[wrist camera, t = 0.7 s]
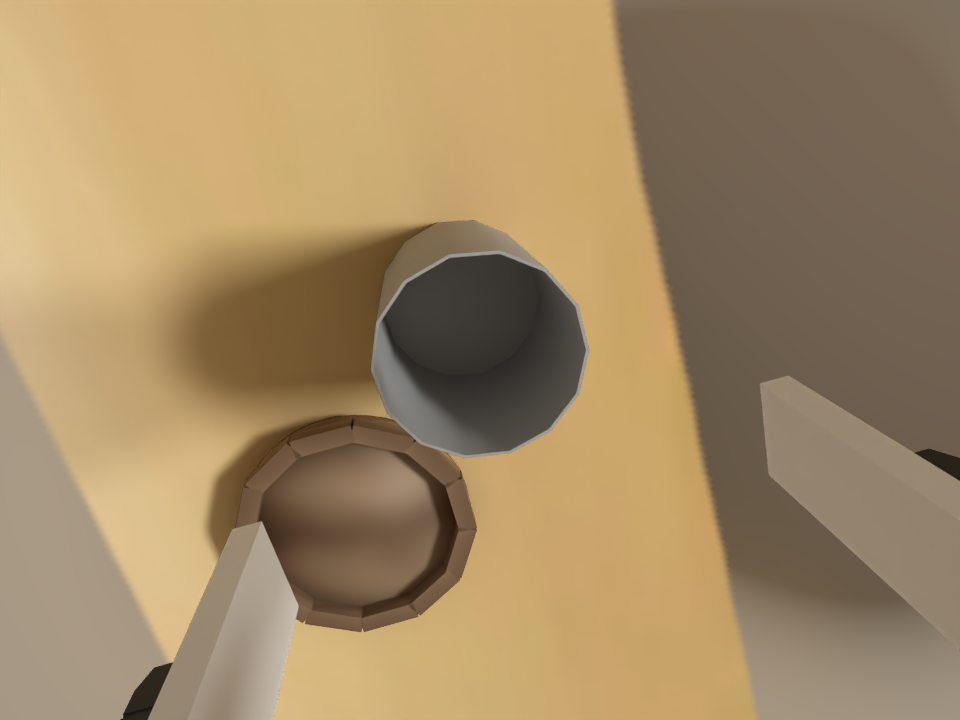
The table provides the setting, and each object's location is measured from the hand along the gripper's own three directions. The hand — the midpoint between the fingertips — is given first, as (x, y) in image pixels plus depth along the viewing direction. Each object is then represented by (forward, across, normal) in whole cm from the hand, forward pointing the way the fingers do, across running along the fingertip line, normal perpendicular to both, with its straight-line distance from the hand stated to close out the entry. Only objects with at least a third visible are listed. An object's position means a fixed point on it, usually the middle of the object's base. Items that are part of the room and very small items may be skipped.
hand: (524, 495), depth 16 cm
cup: (+19, 0, +1) cm, 19 cm away
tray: (+19, -9, -10) cm, 23 cm away
